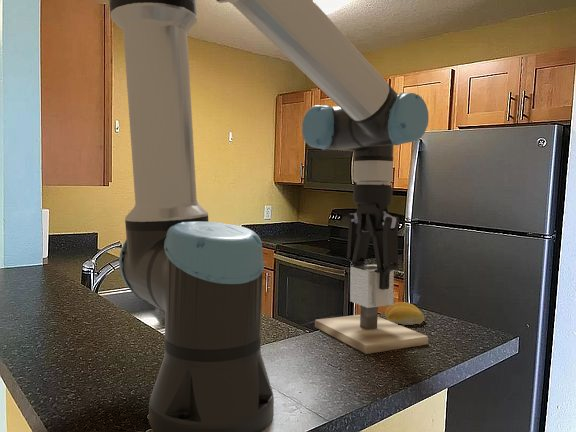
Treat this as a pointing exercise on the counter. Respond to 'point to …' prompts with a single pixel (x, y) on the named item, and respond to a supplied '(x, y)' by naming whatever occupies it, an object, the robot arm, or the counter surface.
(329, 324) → the block
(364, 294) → the hollow square tube
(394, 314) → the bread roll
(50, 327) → the counter surface
